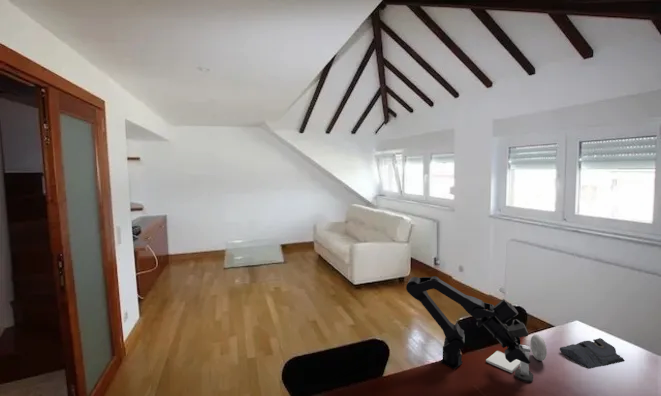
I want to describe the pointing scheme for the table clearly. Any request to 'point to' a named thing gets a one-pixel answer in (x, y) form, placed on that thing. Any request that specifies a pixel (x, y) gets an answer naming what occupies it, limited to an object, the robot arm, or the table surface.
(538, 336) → the donut
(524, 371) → the grey channel block
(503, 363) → the ceramic tile
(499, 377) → the table surface
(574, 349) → the folded grey shirt
